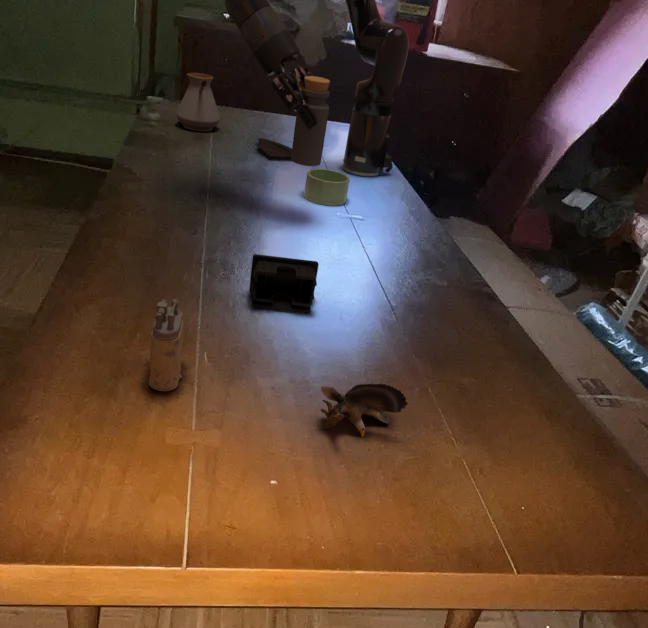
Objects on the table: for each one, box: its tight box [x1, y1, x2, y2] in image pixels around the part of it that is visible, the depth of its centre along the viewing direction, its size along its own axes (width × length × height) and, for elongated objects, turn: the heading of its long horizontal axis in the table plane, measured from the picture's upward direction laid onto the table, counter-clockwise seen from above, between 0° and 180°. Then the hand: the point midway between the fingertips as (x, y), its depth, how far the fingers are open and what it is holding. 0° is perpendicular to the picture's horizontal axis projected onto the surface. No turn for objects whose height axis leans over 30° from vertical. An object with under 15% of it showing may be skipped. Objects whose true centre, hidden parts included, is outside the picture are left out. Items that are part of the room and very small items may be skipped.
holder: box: [303, 168, 351, 207], centre depth 158 cm, size 9×9×5 cm
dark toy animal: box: [320, 383, 409, 438], centre depth 87 cm, size 8×7×9 cm
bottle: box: [290, 75, 331, 167], centre depth 136 cm, size 6×6×15 cm
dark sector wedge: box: [257, 138, 292, 161], centre depth 183 cm, size 8×14×2 cm, turn 23°
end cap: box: [248, 253, 319, 315], centre depth 112 cm, size 10×7×7 cm
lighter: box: [148, 298, 185, 392], centre depth 88 cm, size 7×4×10 cm, turn 2°
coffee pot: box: [175, 72, 221, 132], centre depth 185 cm, size 21×12×15 cm, turn 10°
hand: (320, 123), depth 136 cm, fingers closed on bottle, 6 cm apart
